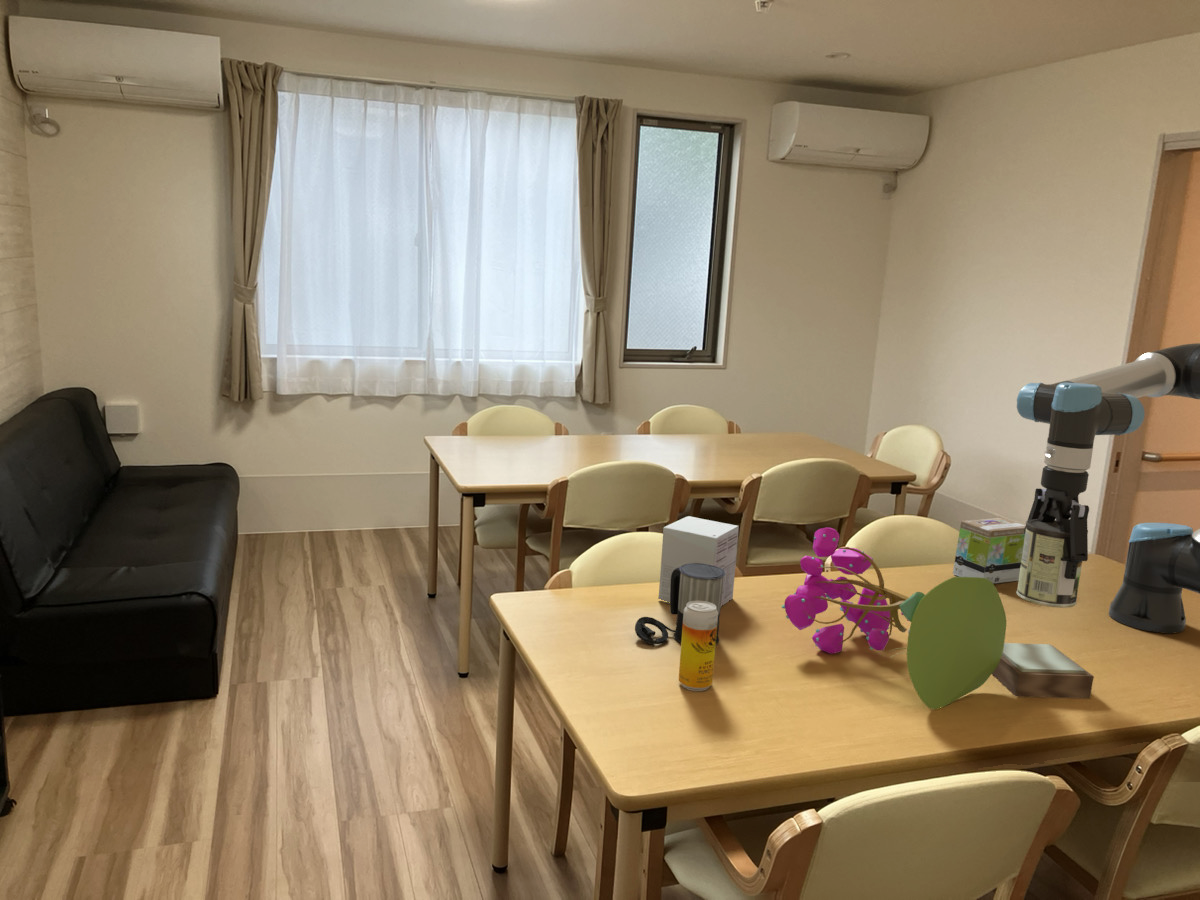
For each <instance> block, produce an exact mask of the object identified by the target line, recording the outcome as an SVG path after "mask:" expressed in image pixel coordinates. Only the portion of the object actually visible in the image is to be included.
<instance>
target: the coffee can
mask: <svg viewBox="0 0 1200 900" xmlns="http://www.w3.org/2000/svg"><path fill="white" fill-rule="evenodd" d="M1025 526H1026V532H1025V539H1024V546H1023V554H1022V560H1021V568H1020V575H1019V581H1017V583H1018V584H1017V590H1016V595H1017V596H1018V597H1019V598H1021V599H1022V600H1024V601H1026V602H1029V603H1032V604H1035V605H1039V606H1045V607H1051V608H1063V609H1064V608H1065V609H1066V608H1067V609H1068V608H1072V607H1075V606H1076V605H1077V598H1078V591H1079V586H1080V578H1081V572H1082V565H1083V561H1080V562H1078V566H1077V571H1076V577H1075V581H1074V588H1073V594H1072V595H1057V594H1056V587H1057V581H1058V574H1059V568H1060V562H1061V559H1060V558H1062V557H1064V552H1063V544H1064V538H1065V537H1070V533H1064V532H1061V531H1060V526H1059V524H1057V522H1056V519H1055V521H1054V522H1040V521H1039V520H1038V519H1031V520H1028V519H1027V520H1026V521H1025ZM1088 530H1089V529H1087V535H1088V533H1089V531H1088ZM1070 554H1071V552H1070Z"/></svg>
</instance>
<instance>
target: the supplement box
mask: <svg viewBox="0 0 1200 900" xmlns="http://www.w3.org/2000/svg"><path fill="white" fill-rule="evenodd" d="M662 530H663V531H662V544H661V547H662V548H661V557H660V558H661V561H660V571H659V572H660V573H659V588H658V599H661V600H664V601H667V602H670V586H671V575H672V572H673V570H674V569H676V568H678V567H681V566H682V565H684V564H688V563H704V564H710V565H714V566H717V567H719V568H721V569H723V570H724V571H725V576H724V579H723V589H722V599H721V607H723V606H724V605H725V604H727V603H729V602H730V601H731V600H732V598H734V588H735V575H736V563H737V551H738V541H739V530H740V529H739V525H735V524H731V523H725V522H721V521H720V522H719V521H715V520H711V519H710V520H709V519H704V518H699V517H695V516H690V515H688V516H685V517H683V518H680V519H679V520H677V521H674V522H671V523H670V524H667V525H666V526H664V527H663V528H662ZM658 599H657V600H658ZM729 600H730V601H729ZM722 605H723V606H722Z"/></svg>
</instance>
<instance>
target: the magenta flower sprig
mask: <svg viewBox="0 0 1200 900" xmlns="http://www.w3.org/2000/svg"><path fill="white" fill-rule="evenodd" d="M839 540H840V533H839V532H838V531H837V530H836V529H835V528H832V527H822V528H818V529H817V530H816V531H814V535H813V545H812V550H813V552H814V554H815V555H816V556H817V557H813V556H810V555H804V556H802V557H801V559H800V560H799V563H800V569H801V571H803V572H804V573H805V574H806V576H805V579H804V582H803V583H804V584H803V585H799V586H797V588H796V591H795V592H794V593H793V594H789V595H788V596H787V597H786V598H785V600H784V603H783V605H781V609H784V610H785V611H784V612H785V614H786V616H785V617H786V619H789V621H790V622H791V624H792V625H793V626H794V627H795V628H797V629H798V630H799V631H802V630H804V629H806V628H808V627H811V626H812V625H813V624H814V623H815V622H817V623H819V624H823V625H827V626H824V627H822V628H816V629H815V633H814V634H813V635H812V637H811V639H812V641H813V643H814V644H815V647H818V649H819V650H820V651H823V652H825V653H827V654H830V655H831V654H832V655H833V654H837V653H840V652H841V651H842V650H843V645H844V642H846V641H848V640H849V639H850V638H851V637H852V636H853V635H854V632H855V630H856V629H857V628H859V629H860V630H859V631H860V632H861V633H864V635H865V636H866V637H865V639H866V640H867V643H868V646H869V649H870V650H875V651H884V650H885V648H886V645H888V643H889V639H890V636H891V634H892V631H893V630H892V629H893V627H894V628H897V629H898V631H900V632H901V633H905V632H907V633H908V635H907V636H908V637H907V644H906V647H897V648H894V649H891V650H890V652H891V651H894V650H897V649H899V650H900V649H903V650H904V649H905V650H906V663H907V671H908V675H909V677H910V680H911V682H912V685H913V687H914V689H915V691H916V693H917V695H918V696H919V699H920V700H921V701H922V702H923V704H924V705H925V706H926V707H928V708H929V709H931V710H938V709H937V708H939V709H941V708H940V707H942V708H944V707H946V706H948V705H949V704H952V703H953V702H955V701H957V700H958V699H960V698H962V697H964V696H966V695H968V694H969V693H972V692H973V691H975V690H977V689H978V688H981V687H982V686H983V685H984V684H985V683H986V682H987V681H988V679H989V678H990V676H991V675H992V673H993V671H994V670H995V669H996V667H997V666H998V664H999V662H1000V659H1001V656H1002V653H1003V648H1004V643H1005V641H1006V640H1005V639H1006V630H1007V615H1006V612H1005V609H1004V605H1003V601H1002V600H1001V597H1000V594H999V592H998V589H997V588H996V586H995V583H994V584H993V583H992V582H991V581H990V580H988V579H986V578H978V577H959V576H952V577H950V578H948V579H946V580H944V581H942V582H941V583H939V584H938V585H936V586H934V587H932V589H930V590H929V591H928V592H927V593H926V594H925V593H923V592H922V591H921V592H920V591H916V592H914V593H913V594H912V595H910V596H909V597H908V596H906V595H904V594H902V593H899V592H896V591H895V590H892V589H889V588H886V587H885V581H884V578H883V575H882V572H881V570H880V568H879V567H878V564H877V563H876V562H875V561H874V558H873V557H871V556H870V555H868V554H866V553H865V551H862V550H860V549H858V548H855V547H838V545H839ZM826 557H827V558H829V557H830V558H831V559H830V560H831V562H832V564H833V566H824V564H823V563H824V562H823V559H821V558H826ZM871 566H872V567H873V569H874V571H875V573H876V576H877V578H878V585H877V584H875V583H871V582H870V581H868V580H867V579H865V578H864V577H863V576H861V575H863V573H865V571H867V570H869V568H870V567H871ZM824 568H825V569H826V568H827V569H837V570H838V571H840V572H841V573H843V574H845V575H848V576H849V575H852V576H853V575H854V576H855V577H858V578H859V579H860V580H858V579H849V578H847V577H846V576H839V577H837V578H835V579H832V578H830V579H829V578H827V577H825V576H824V575H823V574H822V573H823V571H824ZM861 580H862V581H861ZM855 586H858V587H862V591H861V592H860V593H859V592H858V590H857V589H856V587H855ZM855 595H858V596H859V599H858V602H857V603H854V602H853V601H849V600H850V599H852V598H853V597H854V596H855ZM838 598H840V599H841V600H836V599H838ZM887 599H888V601H889V604H888V602H887ZM828 602H830V603H834V604H837V605H840V607H839V610H840V611H842V613H843V615H842V616H840V618H837V619H835V620H832V621H828V622H826V621H824V622H823V621H819V620H817V619H816V616H817V615H818V614H821V613H824V612H826V610H827V609H828V608H829V603H828ZM898 610H900V615H902V616H904V618H905V619H906V620H907V621H908V622H910V626H909V629H907V628H906V627H905V626H904V625H902V623H901V620H900V619H899V611H898ZM844 618H845V619H846V620H847V621H848V622H852V623H854V627H852V630H851V631H850V634H849V635H848V636H847V637H846V638H845V639H844V636H845V635H844V633H845V632H844V631H845V626H844V624H843V623H838V622H840V621H842V620H843V619H844ZM835 623H838V624H835ZM829 624H830V625H829ZM831 624H832V625H831ZM888 630H889V632H888ZM907 630H908V631H907ZM901 653H904V651H901V652H900V654H901ZM898 654H899V652H898V653H896V655H898ZM892 657H893V655H892V656H890V658H892ZM943 706H944V707H943Z"/></svg>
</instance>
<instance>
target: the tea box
mask: <svg viewBox="0 0 1200 900" xmlns="http://www.w3.org/2000/svg"><path fill="white" fill-rule="evenodd" d="M1025 526H1026V524H1021V523H1018V522H1015V521H1012V520H1009V519H1005V518H1001V517H993V518H982V519H968V520H961V522H960V527H959V533H958V539H957V544H956V545H957V546H956V551H955V558H954V563H953V564H954V565H953V571H952V574H953V575H954V576H955V577H978V578H986V579H988V580H990V581H991V582H992V583H993V584H994V585H995V584H1001V583H1002V584H1003V583H1010V582H1019V575H1020V568H1021V560H1022V554H1023V546H1024V539H1025V534H1024V529H1025Z"/></svg>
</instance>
